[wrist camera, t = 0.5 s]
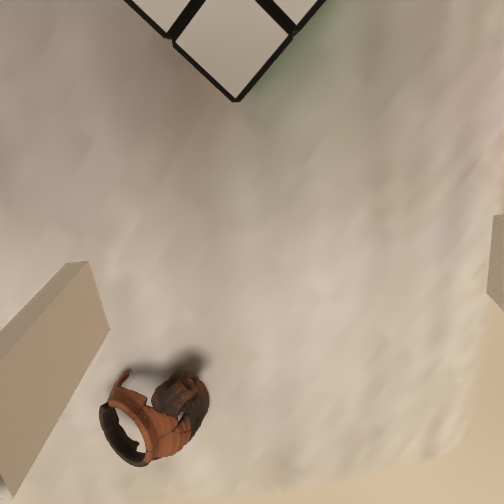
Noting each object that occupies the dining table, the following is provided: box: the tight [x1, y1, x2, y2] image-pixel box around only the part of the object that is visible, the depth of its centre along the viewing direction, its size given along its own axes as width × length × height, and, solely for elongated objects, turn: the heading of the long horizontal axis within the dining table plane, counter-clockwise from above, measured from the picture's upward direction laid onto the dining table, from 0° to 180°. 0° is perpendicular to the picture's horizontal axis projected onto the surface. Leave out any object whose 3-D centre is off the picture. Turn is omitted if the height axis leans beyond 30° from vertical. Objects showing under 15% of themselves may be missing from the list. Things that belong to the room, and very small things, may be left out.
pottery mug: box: [99, 371, 209, 467], centre depth 44 cm, size 12×10×8 cm
